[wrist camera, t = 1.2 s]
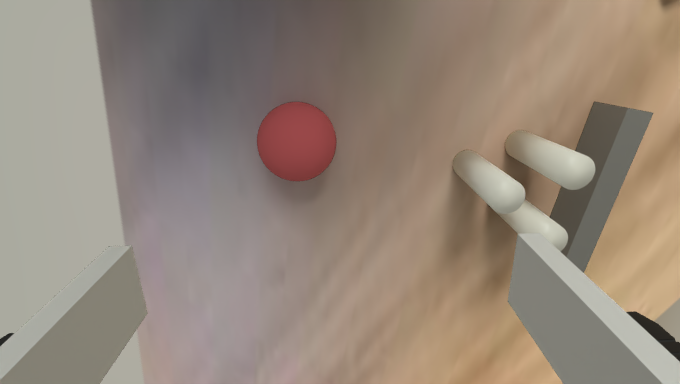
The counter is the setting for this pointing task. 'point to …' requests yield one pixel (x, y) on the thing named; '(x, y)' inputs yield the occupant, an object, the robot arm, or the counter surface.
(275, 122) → the ball
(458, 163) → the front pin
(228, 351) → the counter surface
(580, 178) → the pin
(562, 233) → the pin
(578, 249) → the back wall
